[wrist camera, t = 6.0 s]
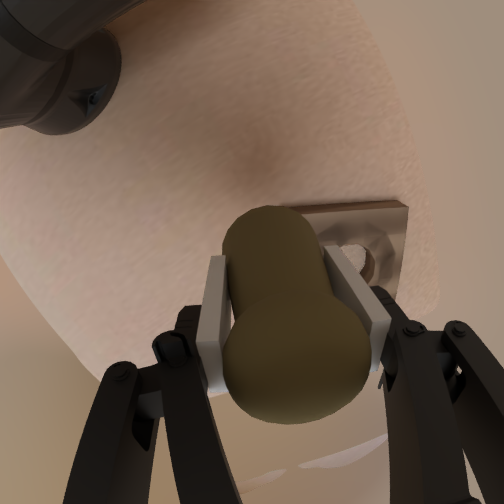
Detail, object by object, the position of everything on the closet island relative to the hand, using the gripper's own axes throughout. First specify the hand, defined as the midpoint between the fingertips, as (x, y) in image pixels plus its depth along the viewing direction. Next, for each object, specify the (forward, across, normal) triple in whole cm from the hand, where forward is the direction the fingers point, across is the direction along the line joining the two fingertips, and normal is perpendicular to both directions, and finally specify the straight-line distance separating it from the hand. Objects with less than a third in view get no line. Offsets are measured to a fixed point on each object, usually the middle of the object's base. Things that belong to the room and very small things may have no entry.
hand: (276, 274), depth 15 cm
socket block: (+19, +11, -10) cm, 24 cm away
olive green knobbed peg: (+3, 0, 0) cm, 3 cm away
